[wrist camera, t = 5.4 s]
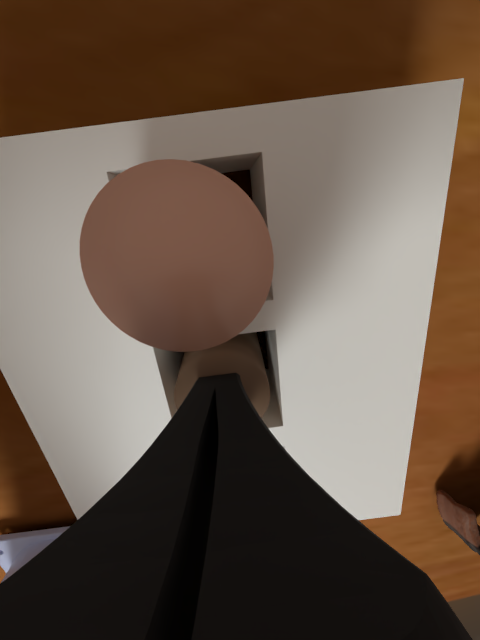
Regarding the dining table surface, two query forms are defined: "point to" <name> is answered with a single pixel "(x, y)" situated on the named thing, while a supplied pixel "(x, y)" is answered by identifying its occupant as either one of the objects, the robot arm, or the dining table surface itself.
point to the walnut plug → (227, 369)
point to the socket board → (283, 298)
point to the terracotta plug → (176, 255)
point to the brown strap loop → (459, 520)
